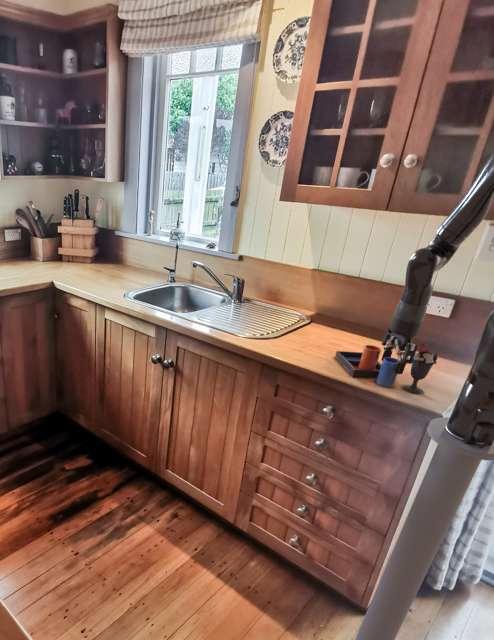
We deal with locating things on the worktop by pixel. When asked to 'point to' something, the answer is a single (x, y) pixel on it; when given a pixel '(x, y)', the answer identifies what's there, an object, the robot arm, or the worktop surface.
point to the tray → (355, 364)
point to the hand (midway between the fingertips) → (391, 367)
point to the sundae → (420, 368)
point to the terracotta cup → (369, 357)
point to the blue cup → (387, 372)
